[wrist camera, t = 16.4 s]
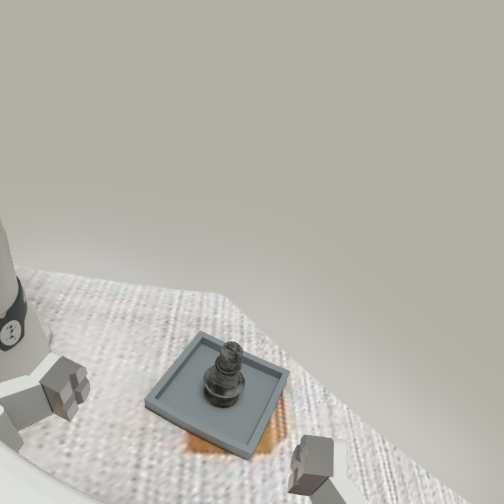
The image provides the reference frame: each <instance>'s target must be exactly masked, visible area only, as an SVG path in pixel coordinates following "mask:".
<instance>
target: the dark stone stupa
mask: <svg viewBox="0 0 504 504" xmlns="http://www.w3.org/2000/svg"><path fill="white" fill-rule="evenodd" d="M242 355H243V349H242V347H241V346H240V345H239V344H238V343H236V342H227V343H225V344H223V346H222V347H221V351H220V355H219V356H218V357H217V359H216V361H215V365H214V366H211V367H210V368H208V369H207V370H206V372H205V374H204V376H203V382H204V385H205V386H204V389H203V395H204V398H205V399H206V401H207V402H208V403H209V404H210V405H212V406H214V407H217V408H228V407H231V406H233V405H234V404H235V403H236V402H237V400H238V397H239V394H240V393H241V392H242V391H243V389H244V387H245V379H244V376H243V374H242V373H241V372H240V371H241V369H242V363H241V359H242Z"/></svg>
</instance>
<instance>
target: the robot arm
mask: <svg viewBox="0 0 504 504" xmlns="http://www.w3.org/2000/svg"><path fill="white" fill-rule="evenodd" d="M51 336H52V330H51V328H50V326H49V325H47V324H45V323H43V322H41V319H40V317H39V315H38V312H37V310H36V307H35V305H34V303H33V302H32V301H29V300H28V299H26V298H25V293H24V290H23V287H22V285H21V283H20V280H19V279H18V277H17V276H16V274H15V270H14V266H13V262H12V258H11V254H10V250H9V245H8V240H7V235H6V232H5V229H4V228H3V226H2V223H1V220H0V504H106V503H104V502H102V501H99V500H97V499H95V498H93V497H91V496H89V495H87V494H85V493H83V492H81V491H80V490H78V489H76V488H74V487H72V486H70V485H68V484H67V483H65V482H63V481H61V480H60V479H58V478H56V477H55V476H53V475H51V474H50V473H48V472H46V471H45V470H43V469H41V468H40V467H38V466H37V465H35V464H34V463H32V462H31V461H29V460H28V459H26V458H25V457H23V456H22V455H20V454H19V453H18V451H19V450H20V448H21V447H22V445H23V444H24V442H23V439H22V438H21V436H20V434H19V433H18V431H19V430H21V429H23V428H26V427H28V426H30V425H32V424H34V423H36V422H38V421H40V420H42V419H44V418H46V417H48V416H50V415H52V414H53V413H54V414H56V415H58V416H60V417H62V418H64V419H66V420H68V421H70V422H71V420H72V419H73V417H74V416H75V414H76V413H77V411H78V404H81V403H83V402H84V401H85V400H86V398H87V396H88V394H89V391H90V383H89V380H88V379H87V378H86V375H87V370H86V367H84V366H82V365H79V364H77V363H75V362H73V361H71V360H69V359H67V358H65V357H64V356H62V355H60V354H58V353H56V352H54V351H53V352H51V351H50V345H49V343H50V340H51ZM290 468H291V470H292V471H293V473H292V475H291V476H290V477H289V483H288V492H287V493H291V494H298V495H305V496H310V499H311V501H312V503H313V504H369V502H368V501H367V500H366V498H365V497H364V495H363V494H362V493H361V491H360V490H359V489H358V487H357V486H356V484H355V483H354V482H353V480H352V479H348V461H347V442H346V441H345V440H339V439H331V438H326V437H318V436H311V435H304V436H303V437H302V438H301V444H300V445H297V446H296V448H295V450H294V453H293V455H292V459H291V466H290Z"/></svg>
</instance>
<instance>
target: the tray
mask: <svg viewBox="0 0 504 504" xmlns="http://www.w3.org/2000/svg"><path fill="white" fill-rule="evenodd" d="M223 344H225V342H223V341H221V340H219V339H217V338H214V337H212V336H210V335H208V334H206V333H204V332H202V331H199V333H198V334H197V335H196V336H195V338H194V339H193V340H192V341H191V343H190V344H189V345H188V346H187V347H186V349H185V350H184V351H183V352H182V354H181V355H180V356H179V357H178V358H177V360H176V361H175V362H174V363H173V365H172V366H171V367H170V368H169V369H168V371H167V372H166V373H165V374H164V376H163V377H162V378H161V379H160V380H159V382H158V383H157V384H156V385H155V387H154V388H153V389H152V390H151V391H150V393H149V394H148V395H147V396H146V398H145V399H144V400H145V407H146V408H147V409H149V410H151V411H152V412H154V413H156V414H157V415H159V416H161V417H162V418H164V419H166V420H168V421H169V422H171V423H173V424H175V425H177V426H178V427H180V428H182V429H184V430H186V431H188V432H190V433H191V434H193V435H195V436H197V437H199V438H201V439H203V440H205V441H207V442H209V443H211V444H213V445H215V446H217V447H220V448H222V449H224V450H226V451H228V452H230V453H233V454H235V455H237V456H239V457H242V458H244V459H246V460H249V458H250V457H251V455H252V453H253V451H254V449H255V447H256V445H257V443H258V441H259V439H260V437H261V435H262V433H263V431H264V429H265V427H266V425H267V422H268V420H269V418H270V416H271V414H272V412H273V409H274V407H275V405H276V403H277V401H278V398H279V396H280V394H281V392H282V389H283V387H284V385H285V383H286V380H287V378H288V376H289V373H290V371H288V370H286V369H284V368H281V367H279V366H277V365H274V364H272V363H270V362H267V361H265V360H263V359H260V358H258V357H256V356H254V355H251V354H249V353H247V352H245V351H243V355H242V359H241V363H242V369H241V371H240V372H241V373H242V374H243V376H244V379H245V387H244V389H243V391H242V392H241V393H240V394H239V397H238V400H237V402H236V403H235V404H234V405H233V406H231V407H228V408H217V407H214V406H212V405H210V404H209V403H208V402H207V401H206V399H205V398H204V395H203V389H204V386H205V385H204V382H203V376H204V374H205V372H206V370H207V369H208V368H210V367H211V366H214V365H215V361H216V359H217V357H218V356H219V355H220V351H221V347H222V346H223Z"/></svg>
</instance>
